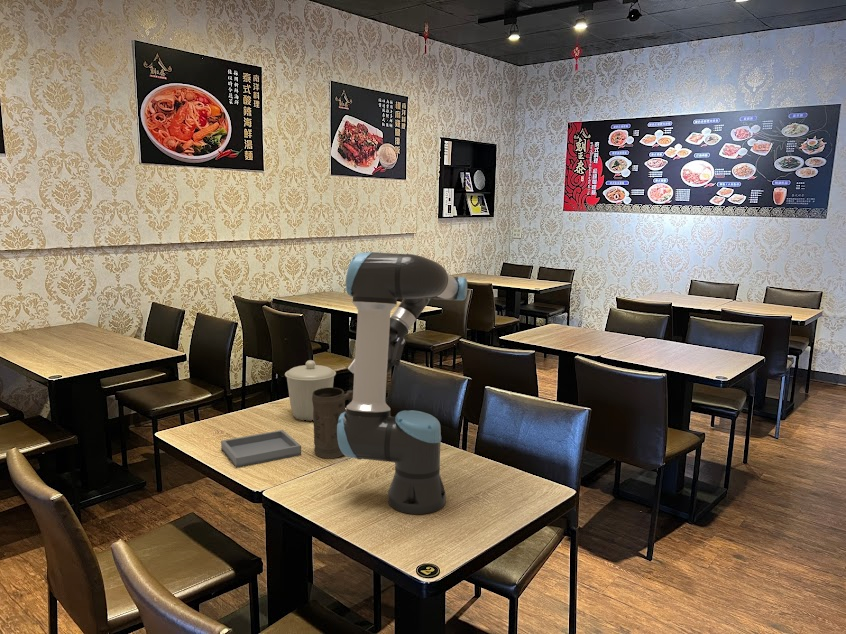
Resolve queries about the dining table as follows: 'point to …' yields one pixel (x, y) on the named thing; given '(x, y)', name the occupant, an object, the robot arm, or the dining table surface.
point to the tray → (260, 448)
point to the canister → (307, 387)
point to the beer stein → (328, 419)
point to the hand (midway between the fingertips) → (363, 375)
